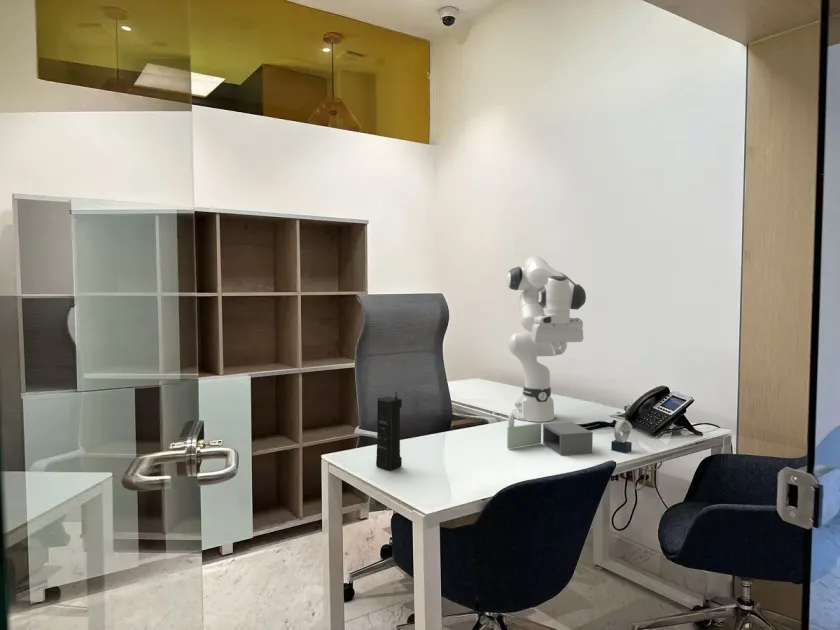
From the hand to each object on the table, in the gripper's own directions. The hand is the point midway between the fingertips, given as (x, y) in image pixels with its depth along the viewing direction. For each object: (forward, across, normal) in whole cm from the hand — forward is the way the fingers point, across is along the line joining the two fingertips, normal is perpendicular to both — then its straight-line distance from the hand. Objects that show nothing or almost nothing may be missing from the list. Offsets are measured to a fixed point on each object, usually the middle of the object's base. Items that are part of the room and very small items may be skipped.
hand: (557, 354), depth 209 cm
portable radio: (+33, +69, +19) cm, 79 cm away
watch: (+33, -16, +19) cm, 42 cm away
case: (+33, +2, +12) cm, 35 cm away
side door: (+33, +16, +7) cm, 37 cm away
